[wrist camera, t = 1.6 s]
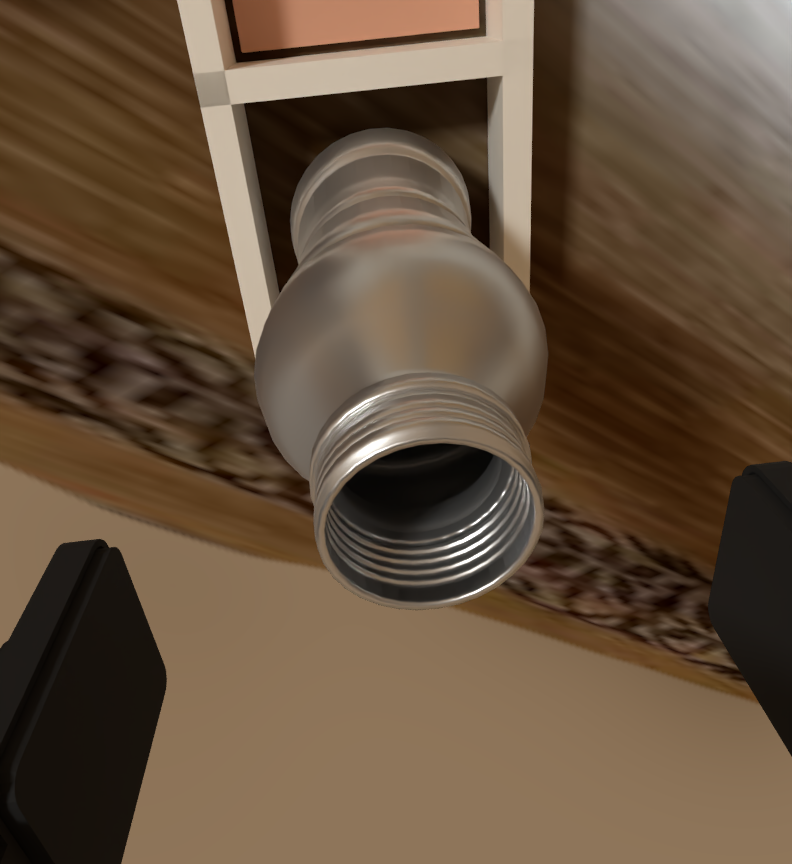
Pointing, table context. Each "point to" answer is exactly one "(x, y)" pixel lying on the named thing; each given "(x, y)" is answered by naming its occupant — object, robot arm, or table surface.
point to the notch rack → (357, 71)
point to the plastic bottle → (404, 377)
